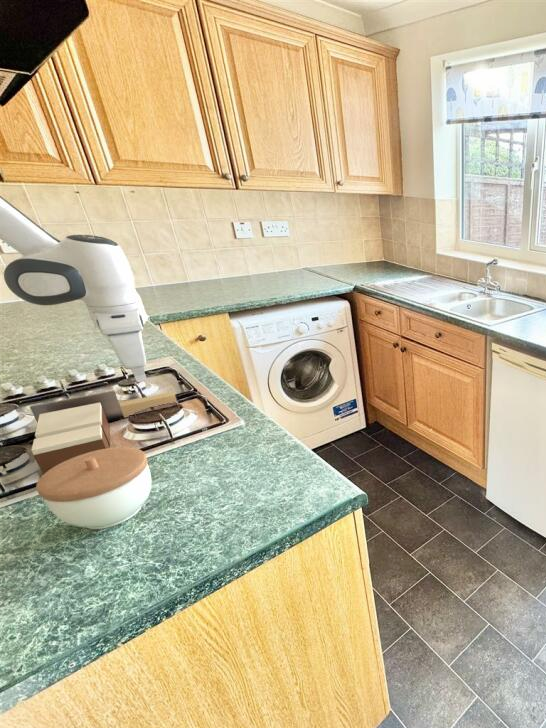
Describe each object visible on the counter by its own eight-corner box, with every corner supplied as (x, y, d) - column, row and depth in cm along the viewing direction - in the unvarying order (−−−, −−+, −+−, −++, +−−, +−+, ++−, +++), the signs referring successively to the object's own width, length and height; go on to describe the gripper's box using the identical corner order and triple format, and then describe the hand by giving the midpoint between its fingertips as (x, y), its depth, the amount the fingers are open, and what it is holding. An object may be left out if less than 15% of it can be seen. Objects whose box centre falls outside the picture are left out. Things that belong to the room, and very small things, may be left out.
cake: (47, 461, 80) (34, 435, 78) (51, 439, 87) (39, 414, 84) (110, 446, 86) (100, 420, 83) (109, 426, 92) (100, 402, 90)
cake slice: (45, 478, 76) (31, 450, 74) (47, 465, 79) (33, 438, 77) (111, 460, 82) (100, 434, 79) (110, 449, 85) (100, 424, 82)
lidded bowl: (126, 542, 64) (100, 484, 60) (35, 543, 63) (2, 484, 58) (178, 488, 76) (160, 437, 71) (102, 488, 74) (79, 436, 70)
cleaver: (42, 435, 88) (28, 408, 85) (43, 430, 89) (30, 404, 86) (178, 406, 102) (170, 382, 99) (177, 402, 103) (169, 378, 101)
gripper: (99, 305, 95) (120, 362, 101) (99, 329, 81) (124, 393, 87) (135, 302, 99) (153, 356, 105) (141, 324, 85) (162, 385, 91)
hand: (140, 373), depth 96 cm, fingers open, 8 cm apart
